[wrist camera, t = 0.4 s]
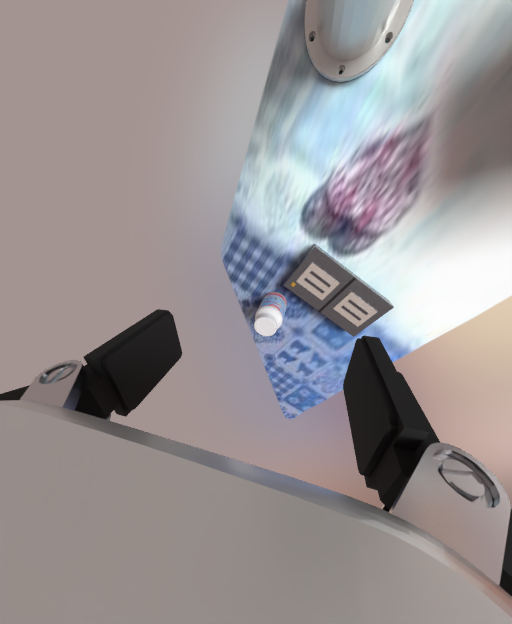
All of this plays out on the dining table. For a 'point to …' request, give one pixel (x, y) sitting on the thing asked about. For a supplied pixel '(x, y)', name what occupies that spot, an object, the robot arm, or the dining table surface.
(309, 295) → the panel
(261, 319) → the pill bottle
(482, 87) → the dining table surface
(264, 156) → the dining table surface
